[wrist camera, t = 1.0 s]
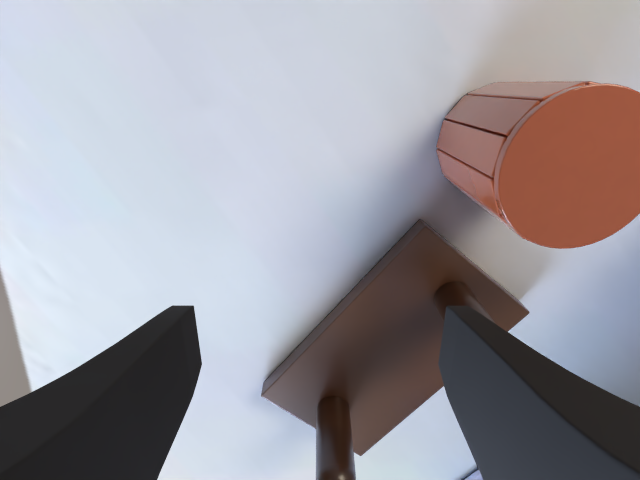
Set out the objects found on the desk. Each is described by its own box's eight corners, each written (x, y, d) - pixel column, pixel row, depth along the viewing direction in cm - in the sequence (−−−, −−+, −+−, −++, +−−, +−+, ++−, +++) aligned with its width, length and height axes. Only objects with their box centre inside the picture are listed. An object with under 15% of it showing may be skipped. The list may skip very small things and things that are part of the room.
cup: (570, 134, 19) (703, 160, 12) (487, 215, 20) (567, 277, 14) (497, 57, 18) (601, 42, 11) (414, 150, 19) (463, 184, 13)
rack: (520, 301, 22) (597, 385, 16) (358, 441, 26) (371, 551, 20) (419, 218, 20) (463, 277, 14) (263, 382, 24) (243, 484, 18)
